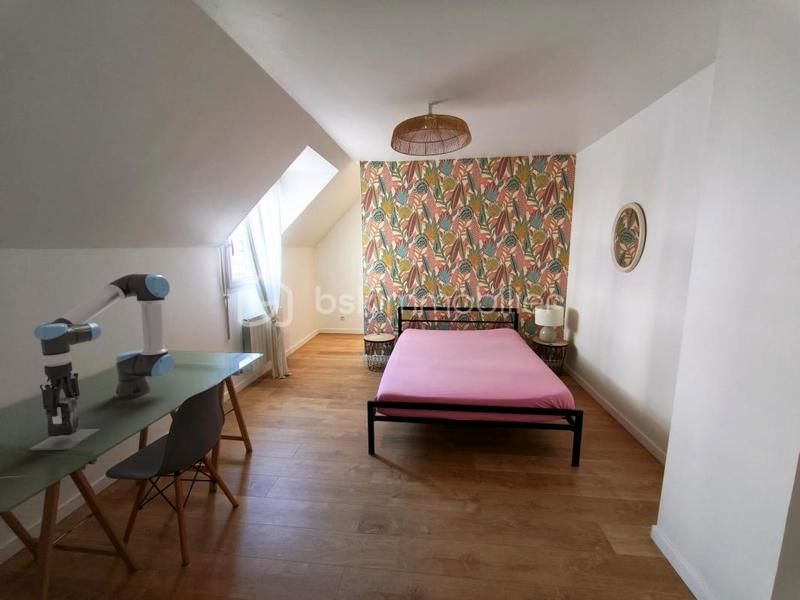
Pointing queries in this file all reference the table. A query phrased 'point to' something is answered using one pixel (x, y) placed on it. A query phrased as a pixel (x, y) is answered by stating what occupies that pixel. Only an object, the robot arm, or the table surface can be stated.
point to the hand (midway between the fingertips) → (64, 419)
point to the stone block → (64, 418)
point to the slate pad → (64, 440)
